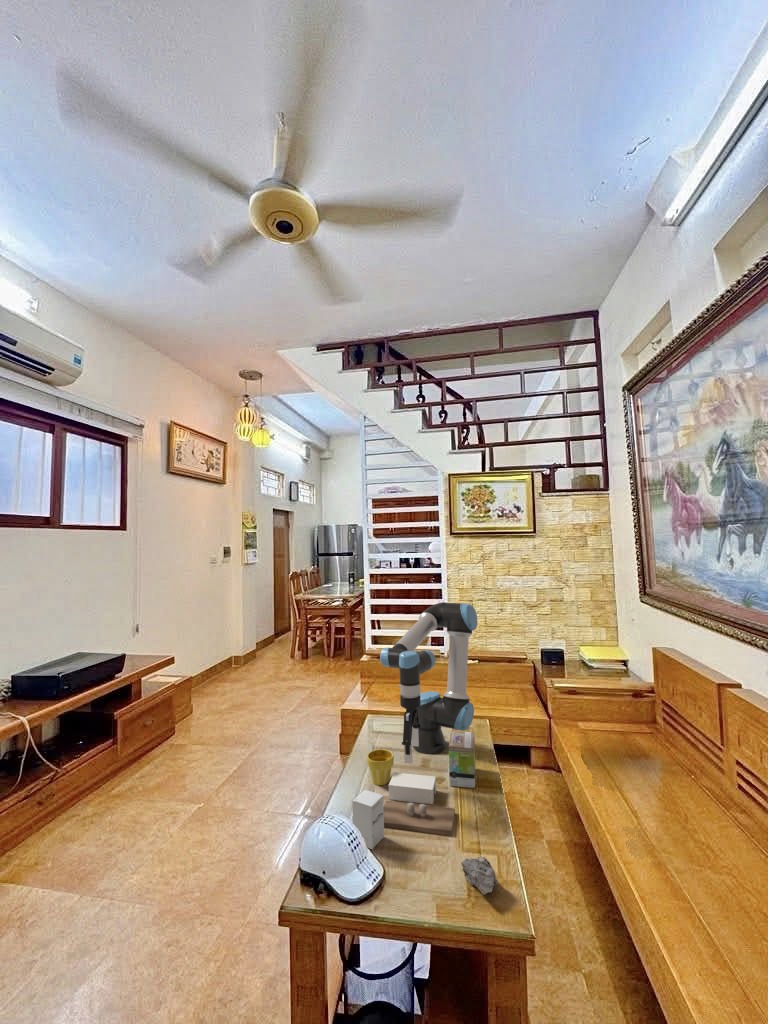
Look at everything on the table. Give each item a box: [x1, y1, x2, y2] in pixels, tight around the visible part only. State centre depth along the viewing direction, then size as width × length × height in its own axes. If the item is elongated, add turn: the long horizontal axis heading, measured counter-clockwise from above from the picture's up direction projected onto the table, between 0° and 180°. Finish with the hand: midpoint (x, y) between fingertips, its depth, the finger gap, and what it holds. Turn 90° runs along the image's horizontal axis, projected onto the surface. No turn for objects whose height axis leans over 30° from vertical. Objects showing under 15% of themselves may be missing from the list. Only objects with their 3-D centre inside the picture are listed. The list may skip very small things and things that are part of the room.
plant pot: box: [366, 748, 395, 786], centre depth 171 cm, size 10×10×10 cm
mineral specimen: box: [460, 856, 499, 896], centre depth 116 cm, size 10×8×10 cm
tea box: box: [448, 730, 476, 789], centre depth 172 cm, size 15×10×15 cm, turn 168°
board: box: [383, 800, 456, 837], centre depth 146 cm, size 12×24×4 cm, turn 76°
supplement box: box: [351, 789, 385, 850], centre depth 137 cm, size 7×7×13 cm
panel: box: [388, 772, 437, 806], centre depth 161 cm, size 9×16×5 cm, turn 76°
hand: (412, 754), depth 161 cm, fingers open, 13 cm apart
